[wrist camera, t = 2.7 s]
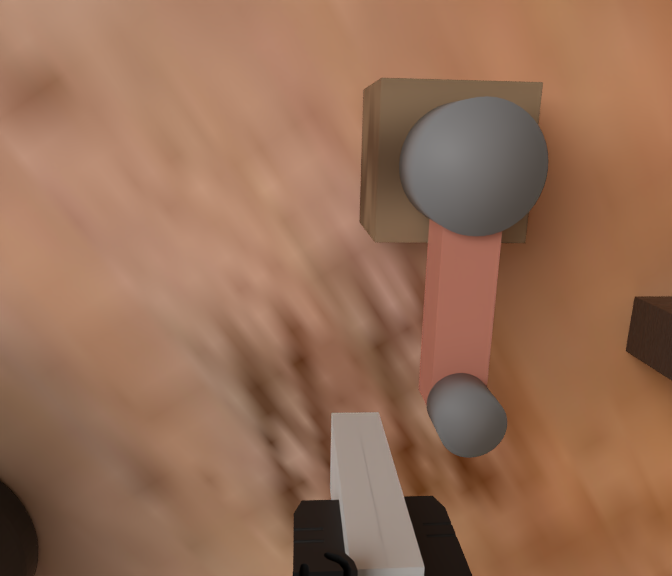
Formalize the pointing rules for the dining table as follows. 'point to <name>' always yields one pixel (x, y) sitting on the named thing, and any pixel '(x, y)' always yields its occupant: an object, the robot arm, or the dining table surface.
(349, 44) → the dining table surface
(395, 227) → the tan square block
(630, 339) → the dark boxy piece
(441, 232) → the ball ended rod
